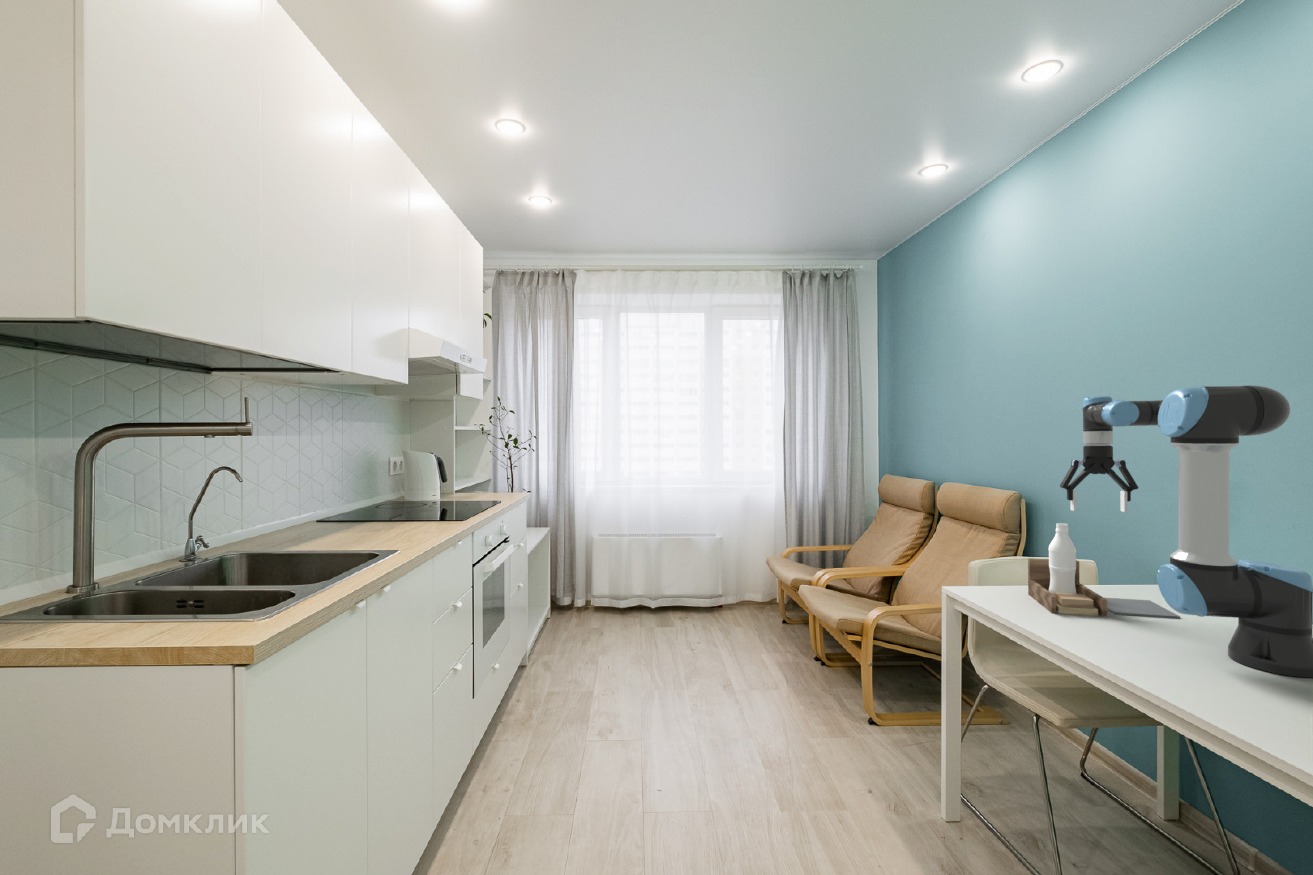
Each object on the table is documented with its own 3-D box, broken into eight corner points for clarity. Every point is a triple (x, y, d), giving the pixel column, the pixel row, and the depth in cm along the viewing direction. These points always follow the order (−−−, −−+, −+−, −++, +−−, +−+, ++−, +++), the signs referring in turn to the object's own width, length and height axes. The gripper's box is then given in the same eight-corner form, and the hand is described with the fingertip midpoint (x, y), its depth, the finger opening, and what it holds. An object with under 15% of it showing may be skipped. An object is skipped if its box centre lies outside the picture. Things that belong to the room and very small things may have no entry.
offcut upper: (1093, 608, 167) (1093, 600, 166) (1061, 606, 169) (1061, 598, 169) (1084, 602, 172) (1084, 594, 172) (1054, 600, 175) (1054, 592, 175)
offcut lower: (1098, 617, 166) (1098, 609, 166) (1058, 615, 169) (1058, 606, 169) (1087, 610, 173) (1087, 602, 173) (1049, 607, 176) (1049, 599, 176)
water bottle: (1082, 606, 175) (1081, 525, 174) (1058, 606, 175) (1058, 525, 175) (1066, 599, 182) (1065, 521, 182) (1043, 599, 182) (1042, 522, 182)
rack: (1107, 616, 165) (1106, 575, 165) (1051, 612, 169) (1051, 573, 169) (1077, 596, 184) (1077, 560, 184) (1028, 594, 188) (1028, 558, 188)
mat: (1180, 618, 162) (1180, 616, 162) (1114, 614, 167) (1114, 612, 167) (1149, 602, 178) (1149, 600, 178) (1089, 598, 182) (1089, 596, 182)
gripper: (1139, 444, 181) (1139, 510, 181) (1048, 444, 188) (1048, 508, 188) (1151, 444, 173) (1152, 513, 174) (1056, 445, 181) (1057, 511, 181)
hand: (1098, 511), depth 181 cm, fingers open, 13 cm apart
